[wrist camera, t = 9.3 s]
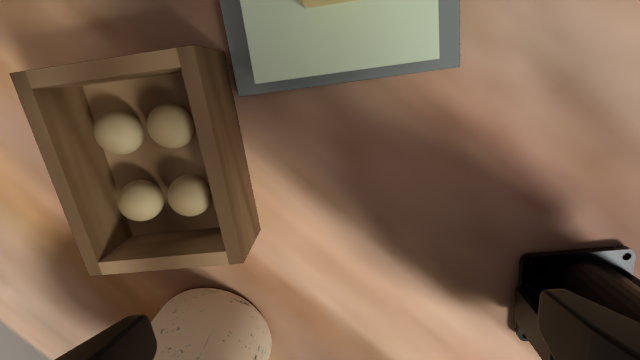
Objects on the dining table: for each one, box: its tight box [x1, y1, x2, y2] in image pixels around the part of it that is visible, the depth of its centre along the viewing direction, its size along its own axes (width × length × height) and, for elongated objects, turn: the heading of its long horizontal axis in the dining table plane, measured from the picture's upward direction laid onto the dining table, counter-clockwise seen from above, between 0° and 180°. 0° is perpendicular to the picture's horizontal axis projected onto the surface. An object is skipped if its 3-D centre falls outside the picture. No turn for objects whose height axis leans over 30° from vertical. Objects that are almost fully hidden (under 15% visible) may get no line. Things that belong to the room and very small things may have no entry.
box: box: [9, 45, 261, 276], centre depth 18 cm, size 9×11×4 cm
